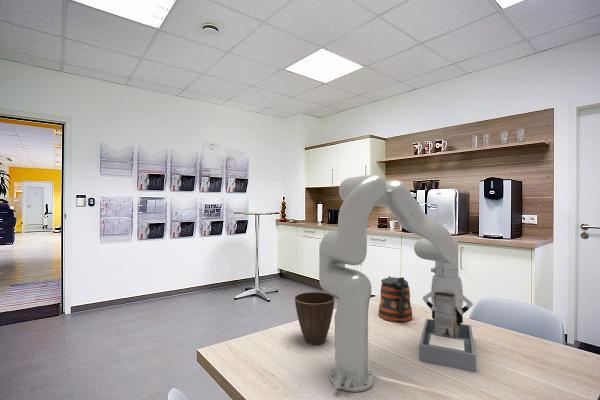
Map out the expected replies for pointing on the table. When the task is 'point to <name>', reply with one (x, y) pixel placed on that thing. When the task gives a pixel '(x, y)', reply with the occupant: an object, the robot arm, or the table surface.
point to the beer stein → (395, 300)
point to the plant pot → (314, 315)
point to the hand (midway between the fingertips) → (447, 322)
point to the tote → (446, 355)
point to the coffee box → (446, 316)
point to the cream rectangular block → (447, 343)
